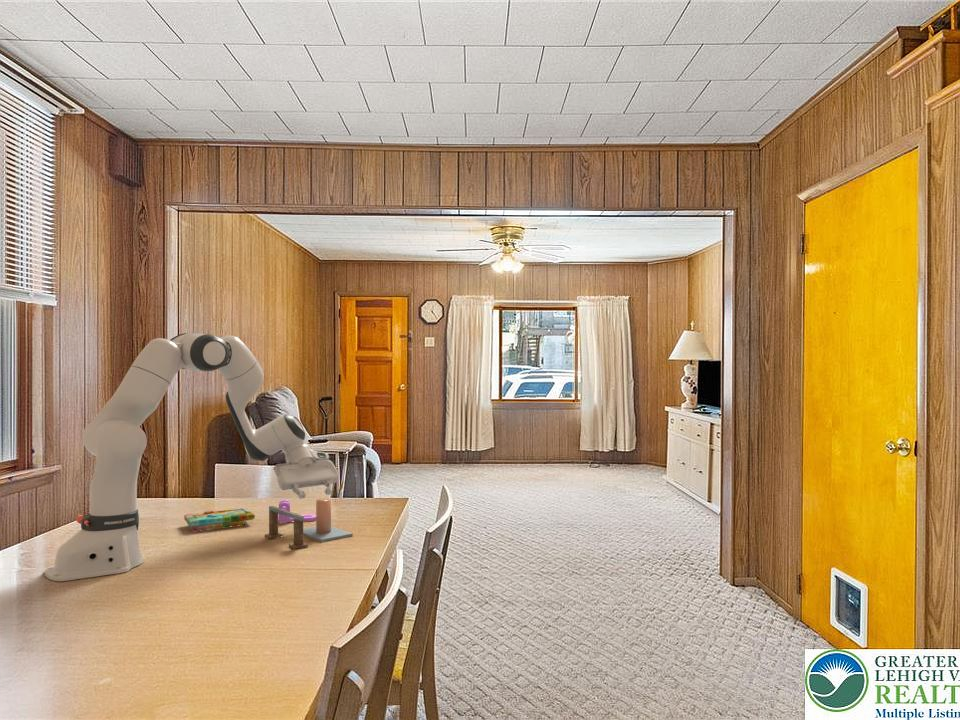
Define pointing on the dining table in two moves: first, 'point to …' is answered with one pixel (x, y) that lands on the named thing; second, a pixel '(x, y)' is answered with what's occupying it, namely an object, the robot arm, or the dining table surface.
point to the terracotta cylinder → (323, 516)
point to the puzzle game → (218, 519)
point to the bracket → (287, 507)
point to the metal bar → (286, 513)
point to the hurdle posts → (297, 531)
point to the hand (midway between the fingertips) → (316, 495)
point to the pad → (326, 534)
